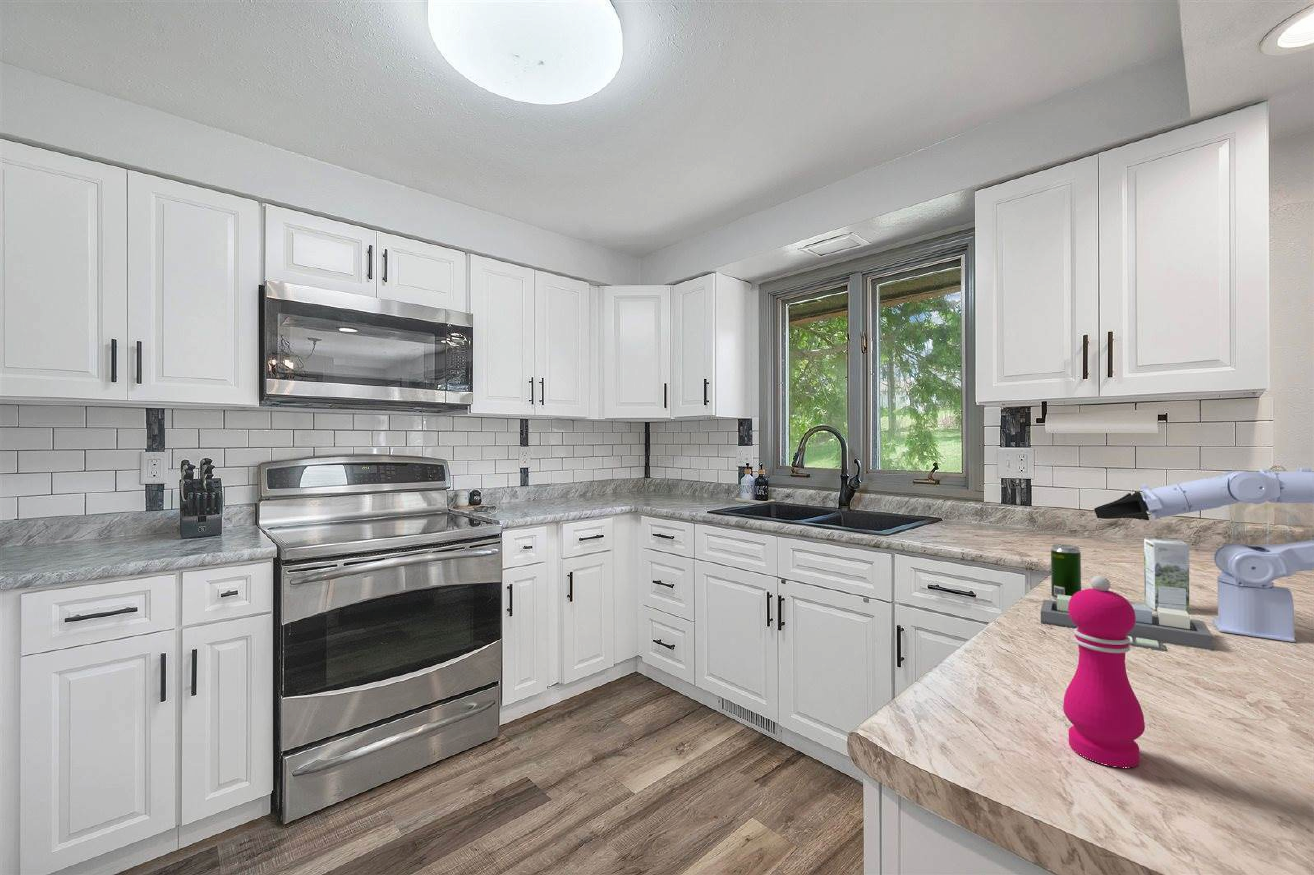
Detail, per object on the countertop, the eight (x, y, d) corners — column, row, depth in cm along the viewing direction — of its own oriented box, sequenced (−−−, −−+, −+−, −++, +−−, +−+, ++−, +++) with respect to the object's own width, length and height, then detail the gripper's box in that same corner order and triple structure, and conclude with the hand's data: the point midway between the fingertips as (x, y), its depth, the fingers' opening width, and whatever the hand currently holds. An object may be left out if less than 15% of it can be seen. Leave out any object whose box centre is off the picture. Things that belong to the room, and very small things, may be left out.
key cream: (1186, 623, 101) (1186, 611, 101) (1190, 629, 98) (1189, 616, 98) (1157, 619, 103) (1156, 607, 103) (1159, 624, 100) (1159, 612, 100)
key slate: (1150, 618, 104) (1149, 606, 104) (1152, 623, 101) (1151, 611, 101) (1122, 614, 106) (1121, 602, 106) (1123, 619, 103) (1123, 607, 103)
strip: (1162, 645, 96) (1162, 640, 96) (1164, 651, 93) (1164, 647, 94) (1082, 632, 103) (1082, 628, 103) (1082, 637, 100) (1082, 633, 100)
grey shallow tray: (1203, 634, 102) (1203, 621, 102) (1213, 650, 94) (1213, 636, 94) (1043, 610, 116) (1043, 599, 116) (1040, 623, 108) (1040, 610, 108)
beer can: (1075, 604, 121) (1074, 549, 121) (1047, 599, 125) (1046, 545, 125) (1085, 600, 124) (1084, 546, 124) (1057, 595, 128) (1056, 543, 128)
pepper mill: (1048, 738, 66) (1045, 569, 66) (1104, 735, 67) (1101, 568, 67) (1101, 774, 59) (1098, 584, 59) (1164, 770, 60) (1160, 583, 60)
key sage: (1082, 608, 110) (1082, 597, 110) (1082, 613, 107) (1082, 602, 107) (1057, 605, 112) (1057, 594, 112) (1056, 609, 109) (1056, 598, 109)
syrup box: (1178, 607, 119) (1177, 538, 119) (1190, 614, 113) (1189, 543, 114) (1144, 603, 121) (1143, 537, 121) (1154, 611, 116) (1153, 541, 116)
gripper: (1166, 479, 115) (1087, 495, 122) (1182, 476, 103) (1093, 493, 110) (1180, 513, 113) (1099, 527, 120) (1198, 514, 101) (1107, 529, 108)
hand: (1097, 513), depth 115 cm, fingers open, 7 cm apart
